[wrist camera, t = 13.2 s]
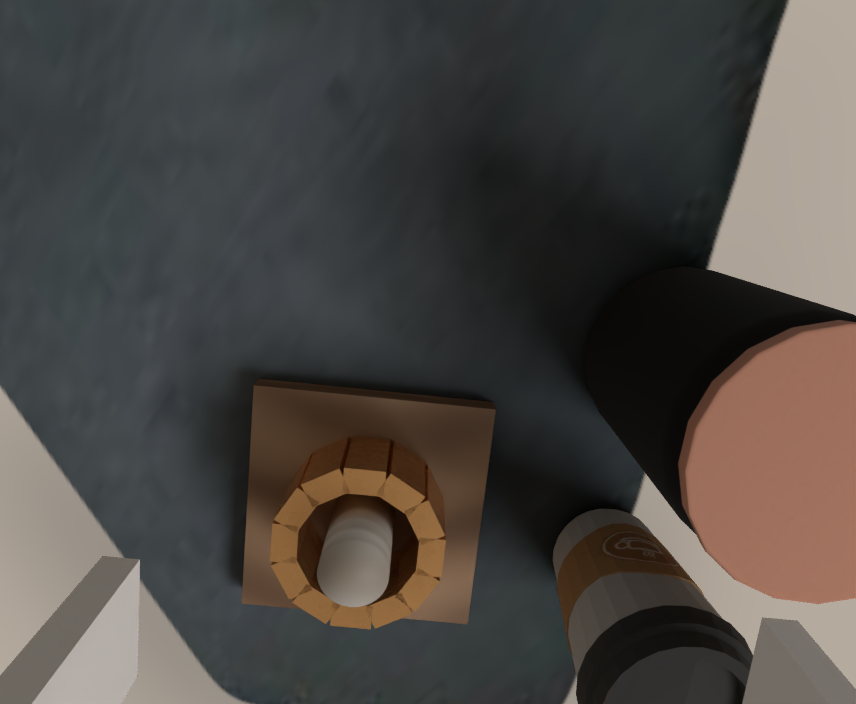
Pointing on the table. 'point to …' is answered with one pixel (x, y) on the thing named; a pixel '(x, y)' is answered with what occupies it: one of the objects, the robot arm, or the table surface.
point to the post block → (361, 514)
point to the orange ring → (374, 476)
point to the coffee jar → (739, 421)
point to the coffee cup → (641, 619)
